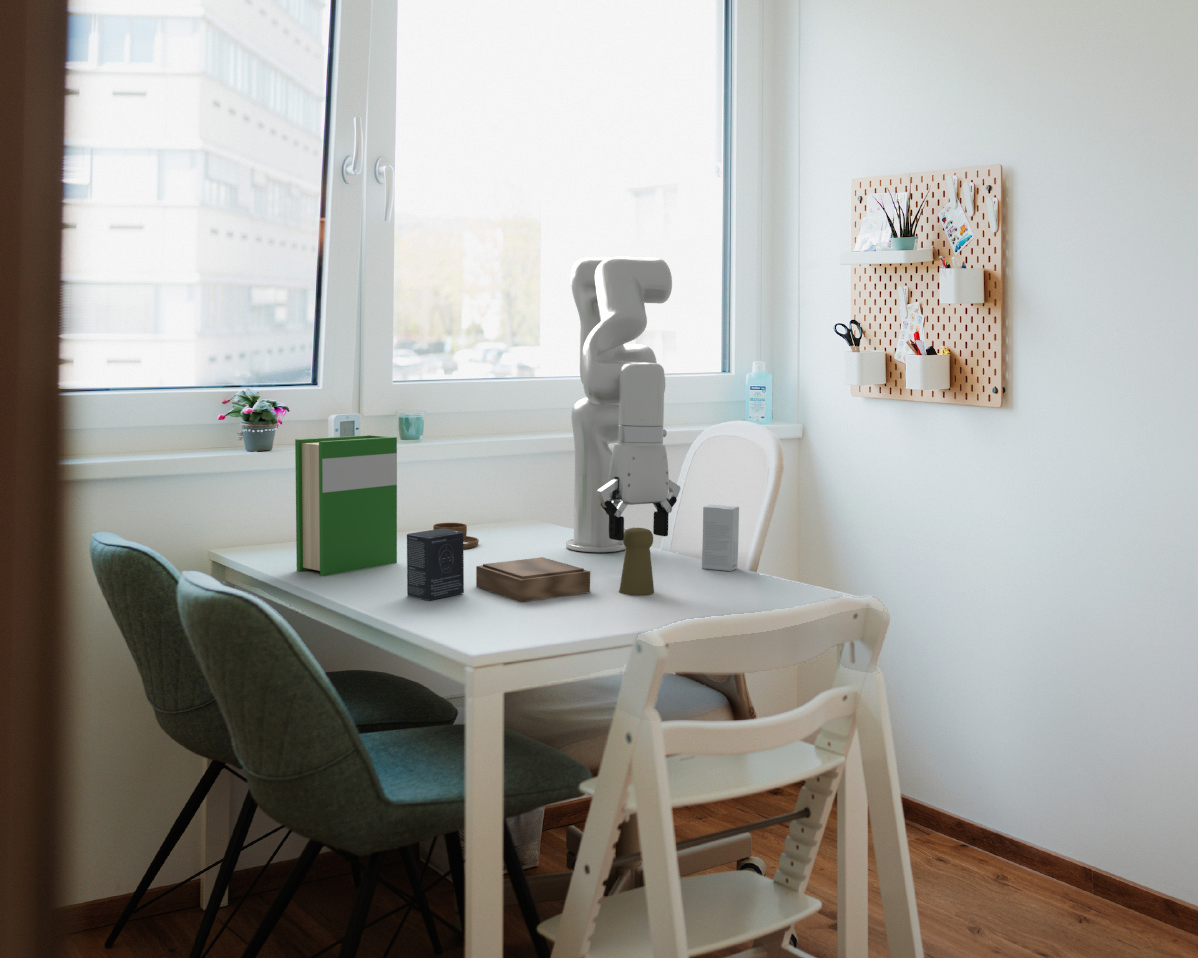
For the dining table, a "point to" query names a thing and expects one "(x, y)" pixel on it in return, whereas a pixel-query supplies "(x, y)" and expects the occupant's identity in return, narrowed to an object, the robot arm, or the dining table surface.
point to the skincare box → (720, 537)
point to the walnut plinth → (532, 579)
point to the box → (435, 564)
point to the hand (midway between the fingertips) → (638, 537)
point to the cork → (637, 563)
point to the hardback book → (346, 503)
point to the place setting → (459, 527)
